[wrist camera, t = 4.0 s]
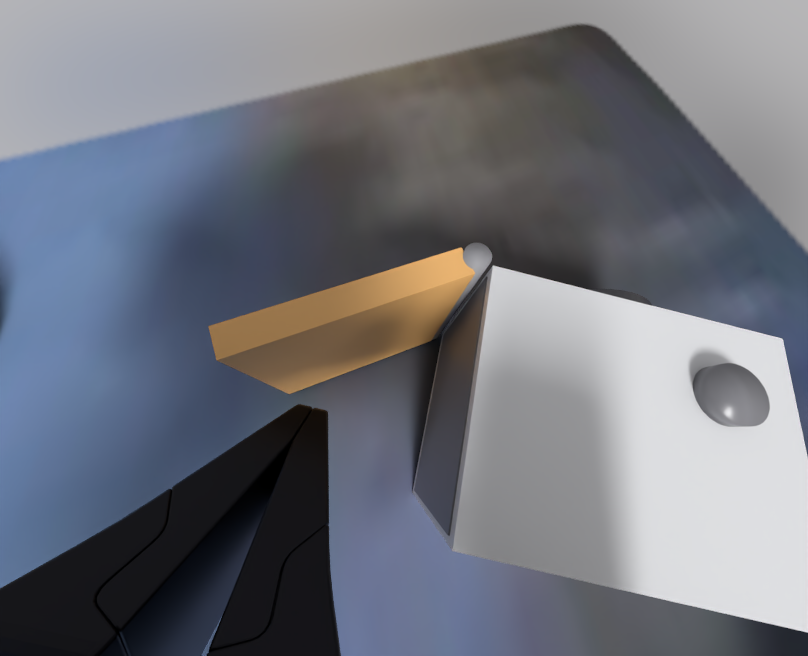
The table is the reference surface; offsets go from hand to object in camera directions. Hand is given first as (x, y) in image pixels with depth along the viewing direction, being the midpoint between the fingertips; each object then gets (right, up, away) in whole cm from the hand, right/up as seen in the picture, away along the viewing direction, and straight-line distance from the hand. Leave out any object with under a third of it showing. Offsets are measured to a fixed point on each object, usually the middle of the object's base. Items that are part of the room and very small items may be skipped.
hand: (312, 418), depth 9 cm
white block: (+9, -3, +7) cm, 12 cm away
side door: (+1, +1, +8) cm, 8 cm away
